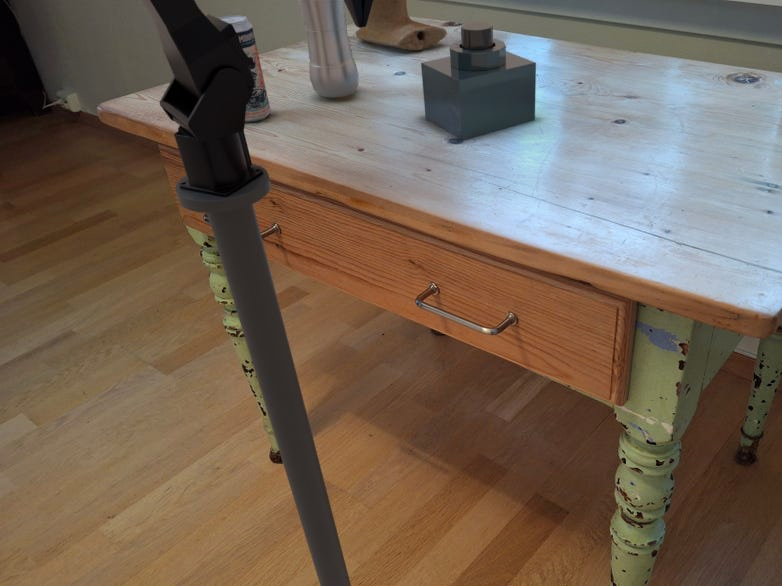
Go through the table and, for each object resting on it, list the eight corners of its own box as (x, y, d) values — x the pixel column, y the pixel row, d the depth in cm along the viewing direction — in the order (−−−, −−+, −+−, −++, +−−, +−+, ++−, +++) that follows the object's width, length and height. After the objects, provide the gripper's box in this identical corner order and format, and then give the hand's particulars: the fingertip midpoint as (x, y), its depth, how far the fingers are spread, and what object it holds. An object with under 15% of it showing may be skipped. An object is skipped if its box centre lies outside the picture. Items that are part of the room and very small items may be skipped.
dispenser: (461, 140, 85) (458, 62, 79) (425, 119, 91) (419, 45, 85) (535, 119, 89) (536, 45, 83) (495, 100, 95) (494, 29, 89)
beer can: (245, 126, 91) (220, 26, 83) (228, 117, 93) (203, 19, 86) (278, 116, 93) (257, 18, 85) (261, 107, 96) (239, 12, 88)
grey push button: (472, 55, 82) (471, 31, 81) (455, 48, 85) (454, 25, 83) (499, 49, 84) (499, 26, 82) (482, 42, 86) (481, 20, 85)
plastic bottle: (357, 102, 96) (333, -67, 84) (308, 103, 97) (277, -65, 84) (364, 87, 101) (342, -74, 89) (317, 88, 102) (289, -72, 89)
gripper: (386, -157, 76) (401, 0, 86) (217, -145, 69) (254, 26, 79) (438, -154, 69) (448, 18, 79) (254, -140, 61) (290, 48, 71)
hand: (360, 26), depth 77 cm, fingers closed
